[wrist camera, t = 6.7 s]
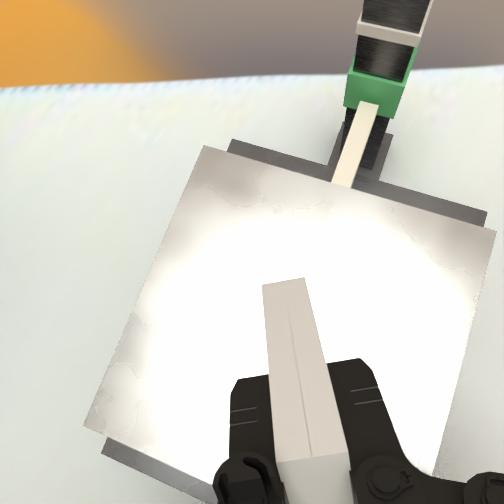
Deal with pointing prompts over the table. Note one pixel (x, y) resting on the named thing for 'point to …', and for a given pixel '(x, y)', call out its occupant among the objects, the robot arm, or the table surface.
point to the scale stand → (366, 179)
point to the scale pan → (321, 294)
